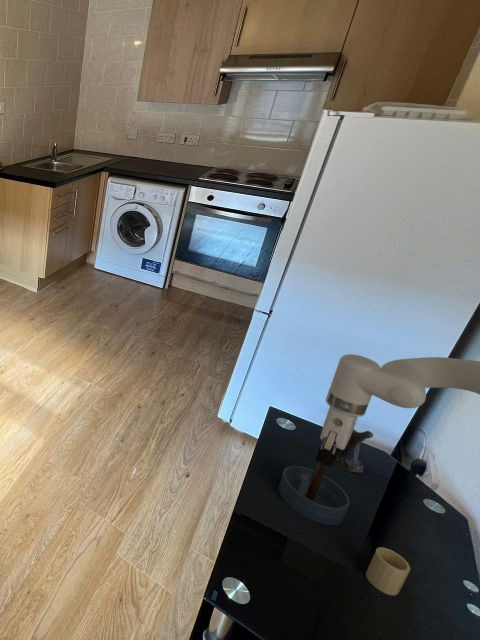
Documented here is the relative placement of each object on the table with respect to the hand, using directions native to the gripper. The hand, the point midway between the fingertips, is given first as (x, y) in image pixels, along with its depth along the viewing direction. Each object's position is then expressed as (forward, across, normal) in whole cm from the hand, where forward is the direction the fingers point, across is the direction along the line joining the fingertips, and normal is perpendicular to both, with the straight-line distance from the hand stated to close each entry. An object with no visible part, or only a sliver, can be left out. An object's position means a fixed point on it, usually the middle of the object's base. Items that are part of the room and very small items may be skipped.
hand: (325, 458), depth 108 cm
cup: (+15, -13, -16) cm, 26 cm away
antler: (+16, +27, -1) cm, 31 cm away
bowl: (+15, 0, 0) cm, 15 cm away
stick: (+15, 0, 0) cm, 15 cm away
